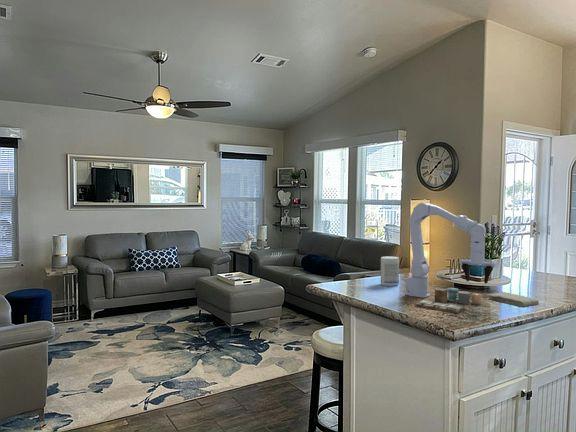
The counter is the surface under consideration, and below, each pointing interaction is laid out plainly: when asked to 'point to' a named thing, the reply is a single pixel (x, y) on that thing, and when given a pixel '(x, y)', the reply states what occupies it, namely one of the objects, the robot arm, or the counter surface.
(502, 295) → the washcloth
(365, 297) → the counter surface
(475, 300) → the peach round blob
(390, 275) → the supplement tub
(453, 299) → the teal spool
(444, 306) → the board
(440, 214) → the robot arm
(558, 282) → the counter surface
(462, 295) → the charcoal cube
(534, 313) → the counter surface
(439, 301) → the walnut block
